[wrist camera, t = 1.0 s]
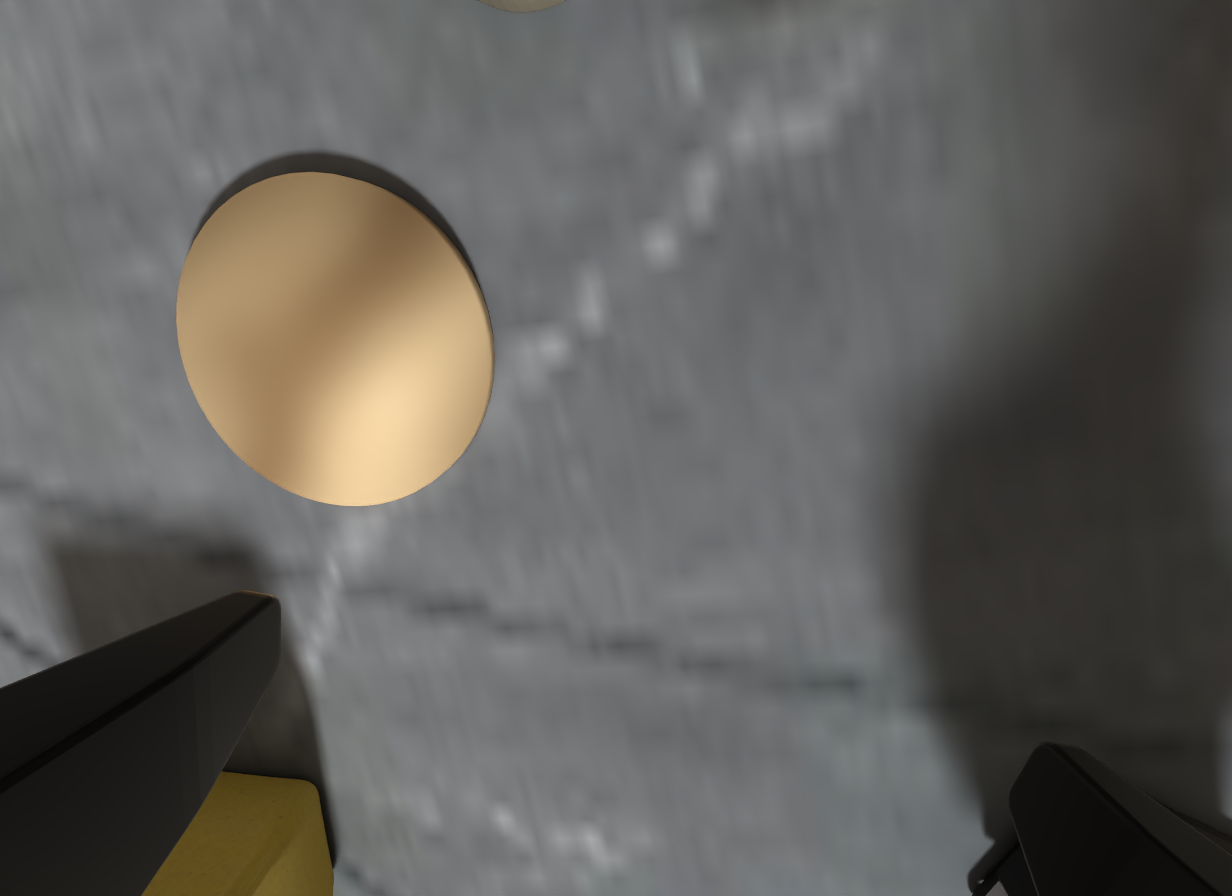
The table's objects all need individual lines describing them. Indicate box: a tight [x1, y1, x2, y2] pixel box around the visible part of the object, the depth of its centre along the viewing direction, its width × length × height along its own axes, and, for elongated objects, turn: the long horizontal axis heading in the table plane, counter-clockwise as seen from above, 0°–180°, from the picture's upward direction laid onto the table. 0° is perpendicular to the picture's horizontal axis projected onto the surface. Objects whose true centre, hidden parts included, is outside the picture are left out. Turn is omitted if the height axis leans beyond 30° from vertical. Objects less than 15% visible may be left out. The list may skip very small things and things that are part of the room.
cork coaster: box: [176, 172, 495, 506], centre depth 19 cm, size 10×10×1 cm
